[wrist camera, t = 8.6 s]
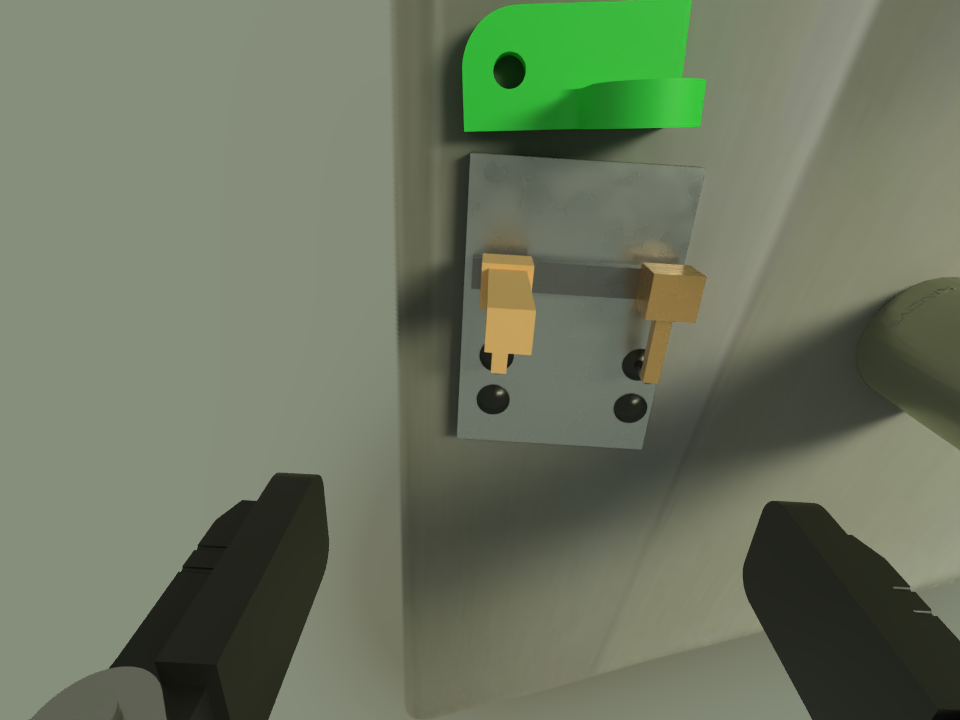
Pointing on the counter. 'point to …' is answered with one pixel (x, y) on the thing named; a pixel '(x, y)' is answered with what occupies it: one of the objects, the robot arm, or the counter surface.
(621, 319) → the plate
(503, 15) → the mechanical part
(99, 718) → the robot arm
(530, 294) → the leg
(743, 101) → the counter surface
